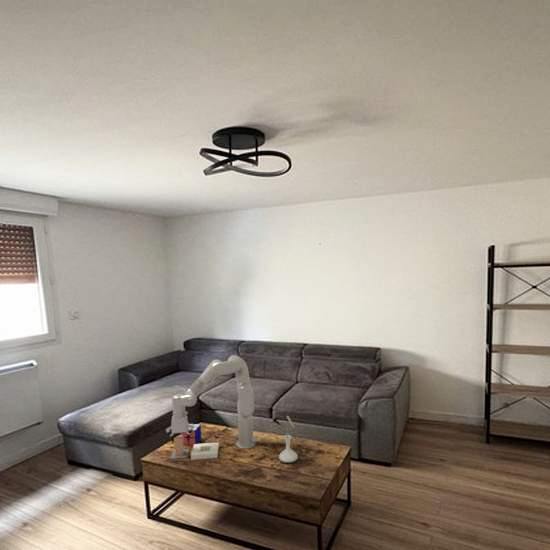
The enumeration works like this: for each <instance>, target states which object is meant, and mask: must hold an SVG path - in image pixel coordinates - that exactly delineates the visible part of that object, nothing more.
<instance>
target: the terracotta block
mask: <svg viewBox="0 0 550 550" xmlns="http://www.w3.org/2000/svg"><path fill="white" fill-rule="evenodd" d="M185 449H186V448H185V445H184V436H182V435H177V436H175V437H174V450H175V456H180V455H184V452H185Z"/></svg>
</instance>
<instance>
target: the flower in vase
mask: <svg viewBox="0 0 550 550" xmlns="http://www.w3.org/2000/svg"><path fill="white" fill-rule="evenodd" d="M286 418H287V420H288V423H287V426H286V428H285V429H286V434H285V435H283V438H284V441H285V449H284V450H282V451H281V452H280V453H279V456H278V459H279V460H280V461H281V462H283V463H292V462H293V463H294V462H295V461H297V460H298V458H299V457H298V454H297V453H296V452H295V451H294V450H293V449H292V448H291V440H292V438H293V436H292V435H290V434H289V429H288V427H289V424H290V425H291V427H292V428H294V429H295V425H294V424H293V422H292V420H291V418H290V416H289V415H286Z"/></svg>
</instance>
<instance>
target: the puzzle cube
mask: <svg viewBox="0 0 550 550" xmlns="http://www.w3.org/2000/svg"><path fill="white" fill-rule="evenodd" d="M188 424H189V425H192V426H194V428H193V430H192V432H191V433H190V439H189V441H187V433H186V432H183V433H181V436H184V446H185V445H187V446H188V445H190V446H194V444H199V443H200V441H201V439H202V425H201V423H200V424H199V423H197V424H196V423H195V424H194V423H188ZM188 430H189V431H190V430H191V428H190V427H189V428H188Z"/></svg>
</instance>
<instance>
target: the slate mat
mask: <svg viewBox="0 0 550 550" xmlns="http://www.w3.org/2000/svg"><path fill="white" fill-rule="evenodd" d="M189 453H190V449H189V448H187V449H186V448H185V452H184V455H180V456H175V449H174V450H172V453H171V456H170V460H177V459H187V458H188V455H189Z"/></svg>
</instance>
